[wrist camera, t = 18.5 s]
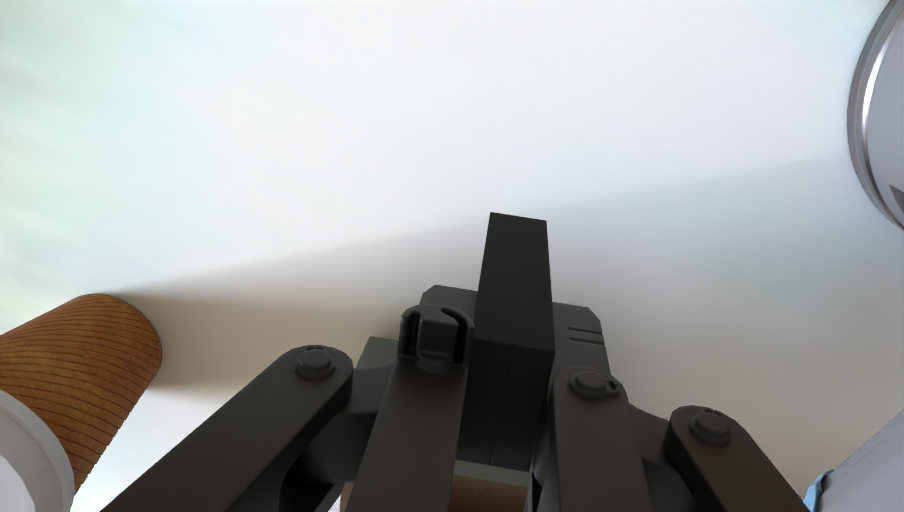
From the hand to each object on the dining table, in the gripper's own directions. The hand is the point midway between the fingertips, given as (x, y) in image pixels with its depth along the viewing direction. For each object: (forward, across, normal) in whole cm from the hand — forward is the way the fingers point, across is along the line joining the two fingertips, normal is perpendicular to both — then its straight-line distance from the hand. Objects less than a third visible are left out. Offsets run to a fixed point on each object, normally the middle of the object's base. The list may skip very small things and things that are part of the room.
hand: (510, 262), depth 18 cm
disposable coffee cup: (+14, -21, -15) cm, 29 cm away
